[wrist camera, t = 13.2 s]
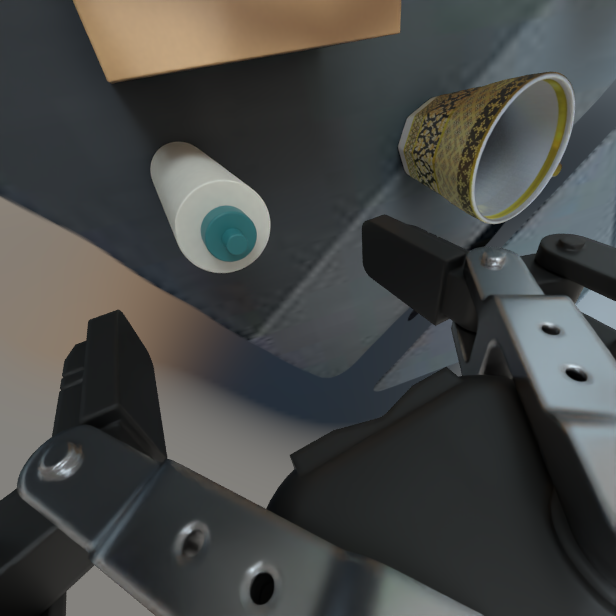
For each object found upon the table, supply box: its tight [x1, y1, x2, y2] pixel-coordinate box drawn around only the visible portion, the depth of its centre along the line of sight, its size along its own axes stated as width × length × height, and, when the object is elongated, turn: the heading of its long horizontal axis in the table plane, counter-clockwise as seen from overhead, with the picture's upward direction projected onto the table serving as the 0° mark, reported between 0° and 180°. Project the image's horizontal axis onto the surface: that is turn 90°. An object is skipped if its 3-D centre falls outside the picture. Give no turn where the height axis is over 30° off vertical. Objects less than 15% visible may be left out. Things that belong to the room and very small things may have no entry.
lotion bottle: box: [150, 142, 270, 273], centre depth 18 cm, size 4×4×14 cm
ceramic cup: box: [398, 72, 575, 224], centre depth 28 cm, size 13×10×10 cm
